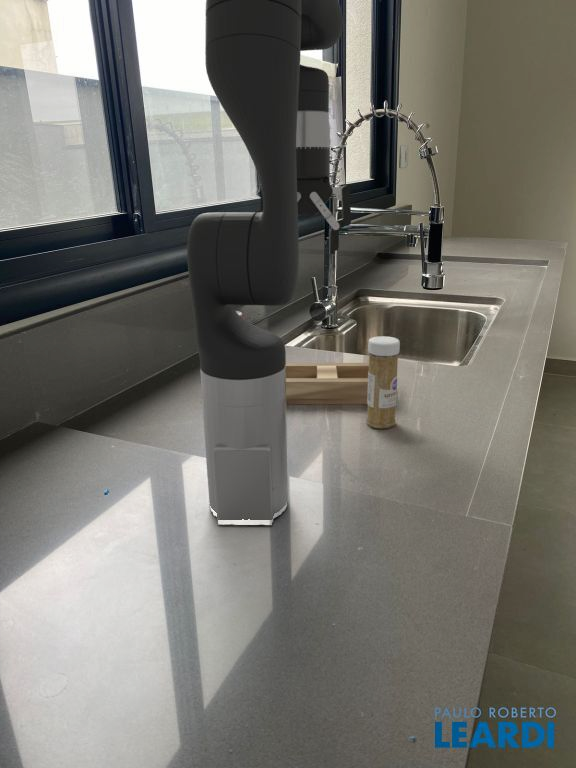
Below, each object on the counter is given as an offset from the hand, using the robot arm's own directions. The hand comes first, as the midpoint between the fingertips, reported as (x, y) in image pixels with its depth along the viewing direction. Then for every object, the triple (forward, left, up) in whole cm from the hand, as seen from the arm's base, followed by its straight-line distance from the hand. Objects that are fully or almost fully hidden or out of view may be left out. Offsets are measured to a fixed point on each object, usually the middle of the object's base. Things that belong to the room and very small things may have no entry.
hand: (305, 254), depth 97 cm
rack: (0, -4, -24) cm, 24 cm away
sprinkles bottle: (-13, -12, -24) cm, 30 cm away
